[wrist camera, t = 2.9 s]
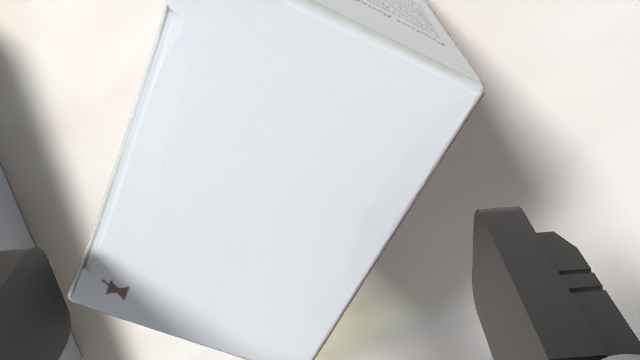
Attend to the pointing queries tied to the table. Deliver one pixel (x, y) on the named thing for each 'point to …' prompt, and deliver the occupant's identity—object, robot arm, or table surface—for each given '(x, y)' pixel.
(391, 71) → the small box
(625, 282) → the table surface
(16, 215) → the platform
